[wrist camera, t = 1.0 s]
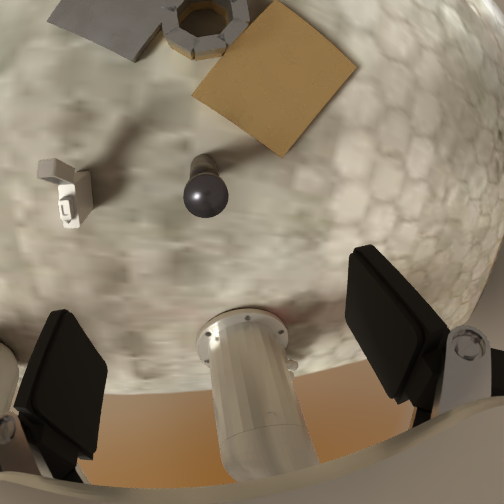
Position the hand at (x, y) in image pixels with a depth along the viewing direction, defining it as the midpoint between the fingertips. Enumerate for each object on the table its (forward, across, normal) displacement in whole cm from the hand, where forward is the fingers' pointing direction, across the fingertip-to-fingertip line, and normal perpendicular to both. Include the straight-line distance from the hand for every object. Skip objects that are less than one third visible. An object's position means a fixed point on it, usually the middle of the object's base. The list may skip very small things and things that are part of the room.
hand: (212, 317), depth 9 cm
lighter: (+21, +12, -2) cm, 24 cm away
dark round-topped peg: (+20, 0, 0) cm, 21 cm away
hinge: (+20, -2, -13) cm, 24 cm away
